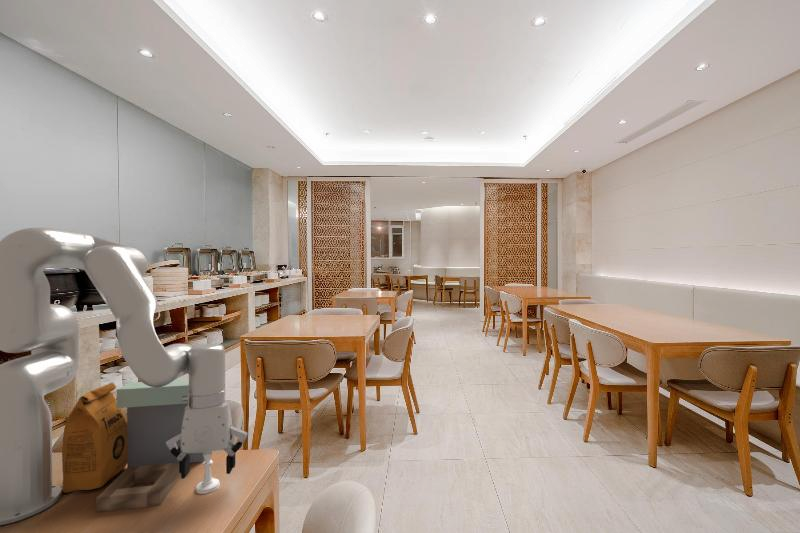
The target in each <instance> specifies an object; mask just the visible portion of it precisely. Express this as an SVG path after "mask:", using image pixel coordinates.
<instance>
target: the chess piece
mask: <svg viewBox="0 0 800 533" xmlns="http://www.w3.org/2000/svg"><path fill="white" fill-rule="evenodd" d="M213 453H214V452H204V453H203V456H204V459H205V461H204V462H202V466H203V467H204V476H203V479H202V481H200V482H199V483H197V485H196V487H195V492H196V493H197V494H202V495H205V494H209V493H212V492H214V491H216V490H217V489H218V488H219V487H220V485H221V484H220V483H221V482H220V479H218V478H215V477H213V476H212V469H211V465H212V464H213V463H214V461H213V460H212V455H213Z"/></svg>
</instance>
